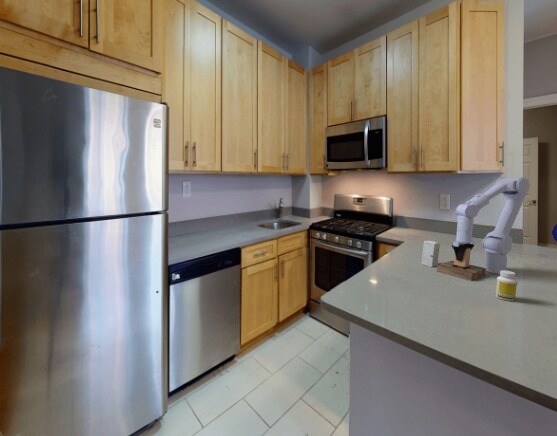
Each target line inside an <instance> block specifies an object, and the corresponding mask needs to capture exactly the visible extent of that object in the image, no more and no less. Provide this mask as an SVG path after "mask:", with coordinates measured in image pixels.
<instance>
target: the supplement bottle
mask: <svg viewBox="0 0 557 436" xmlns="http://www.w3.org/2000/svg"><path fill="white" fill-rule="evenodd" d="M506 270H507V269H506ZM506 270H502V271H500V274H499V275H500V276H497V278H496V285H495V293H494V296H495V297H496V298H498V299H500V300H502V301H506V302H508V301H509V302H514V301H515V299H516V294H517V285H518V280H517V279H516V273H515V272H514V271H510V270H509V271H506Z"/></svg>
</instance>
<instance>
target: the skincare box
mask: <svg viewBox="0 0 557 436" xmlns="http://www.w3.org/2000/svg"><path fill="white" fill-rule="evenodd" d="M422 246H423V248H422V256H421V265H425V266H427V267H430V268H431V267H432V268H435V267H437V265H439V264H438V263H439V255H440V254H439V253H440V246H441V243H440V242H437V241H434V240H424V241H423V245H422Z"/></svg>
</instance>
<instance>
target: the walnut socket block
mask: <svg viewBox="0 0 557 436" xmlns="http://www.w3.org/2000/svg"><path fill="white" fill-rule="evenodd" d="M436 272H438V273H441V274H445V275H448V276H452V277H456V278H459V279H464V280H466V281H471V282H472V281H474V280H476V279H479V278H481V277H484V276H486V273H487V271H486V268H484V266H483V267H482V266H477V265H473V264H471V263H469V266H466V267H462V266H458V265H454V260H449V261H446V262H443V263H440V264H437V266H436Z"/></svg>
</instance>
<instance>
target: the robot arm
mask: <svg viewBox="0 0 557 436" xmlns="http://www.w3.org/2000/svg"><path fill="white" fill-rule="evenodd" d="M530 186H531V184H530V181H529V180H528V178H527V177H524V176H523V177H522V176H520V177H501V178H499V179H498V180H496V181H495V184H493V186H491V187H490V188H489V189H487V190H486V191H484V193H479V194H475V195H474V196H473V197H472V198H471V199H469V200H467V201H466V202H465V203H461V204H459V205H458V206H456V208H455V210H454V212H455V215H456V220H457V225H456V236H455V237H456V238H455V240H454V241H453V242H452V243H453V244H452V245H451V247H452V249H453V251H454V257H455V256H456V260H458V261H462V260H463V257H464V253H465V251H466V249H467V248H471V251H472V249H473V248H474V247H475V241H474V238H473V230H474V219H475V217H477V216H478V213H479V212H480V211H481V210H482V209H483V208H485V207H487V205H489V204H490V200H492V199H493V198H495V197H497V196H498V195H500V194H502V196H503V197H505V198H506V203H504V204H505V205H504V207H503V209H502V210H501V211H502V212H501V214H500V217H499V218H498V220H497V223H496V225H495V227H494V230H493V231H491V232H488V233H487V234H486V236H485V237H484V238H483V239H482V241H481V247H482V248H483V249H484V252H485V253H484V254H485V255H484V265H483V268H486V273H487V272H489V273H492V274H497V275H500V271H502V270H506V271H510V270H509V269H507V266H508V256H507V255H508V253H510V252H511V251H512V248H513V246H512V245H513V241H514V239H513V238H512V236H511V235H510V233H511V230H512V227H513V226H514V224H515V221H516V219H517V216H518V215H519V211H520V209H521V208H522V205H523V203H524V201H525V197H526V195H527V193H528V192H529V189H530Z"/></svg>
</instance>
